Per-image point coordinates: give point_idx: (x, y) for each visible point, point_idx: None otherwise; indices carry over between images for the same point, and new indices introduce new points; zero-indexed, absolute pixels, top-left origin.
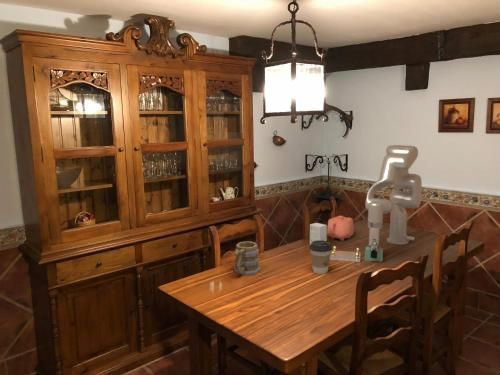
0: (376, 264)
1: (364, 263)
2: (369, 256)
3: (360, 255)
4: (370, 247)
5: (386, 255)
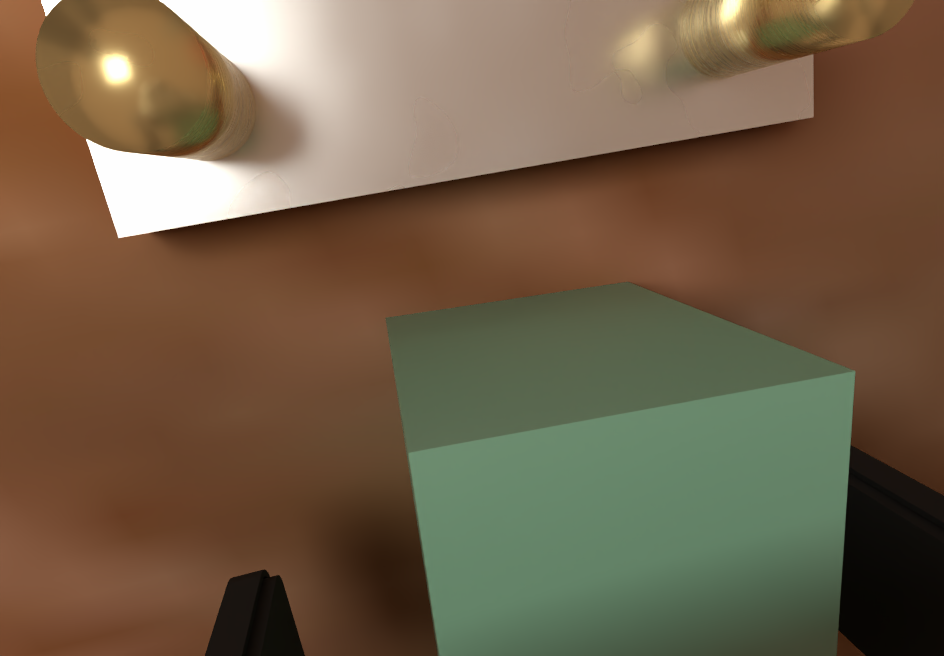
0: (193, 639)
1: (98, 370)
2: (411, 482)
3: (545, 162)
4: (800, 570)
5: (838, 650)
